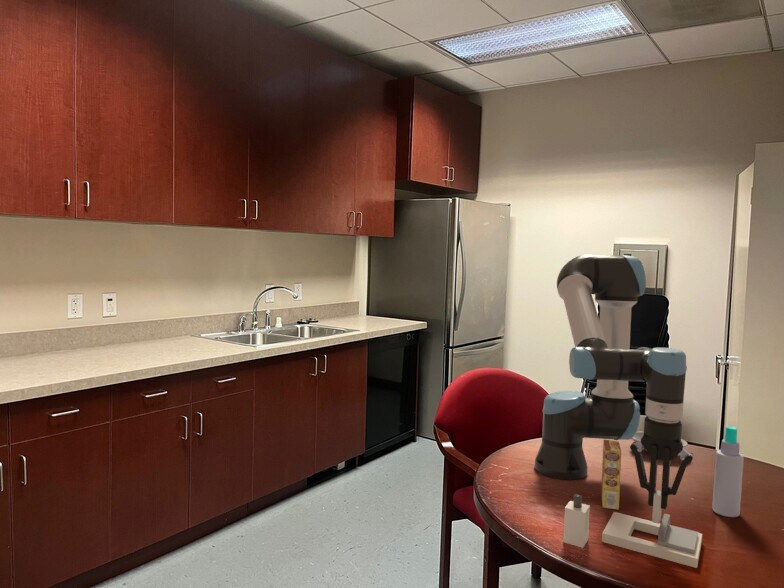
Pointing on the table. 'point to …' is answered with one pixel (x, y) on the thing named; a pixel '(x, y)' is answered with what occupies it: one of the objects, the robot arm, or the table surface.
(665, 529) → the shutter
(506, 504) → the table surface
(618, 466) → the candy box
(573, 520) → the plug
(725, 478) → the spray bottle
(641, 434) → the dish
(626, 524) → the socket plate
